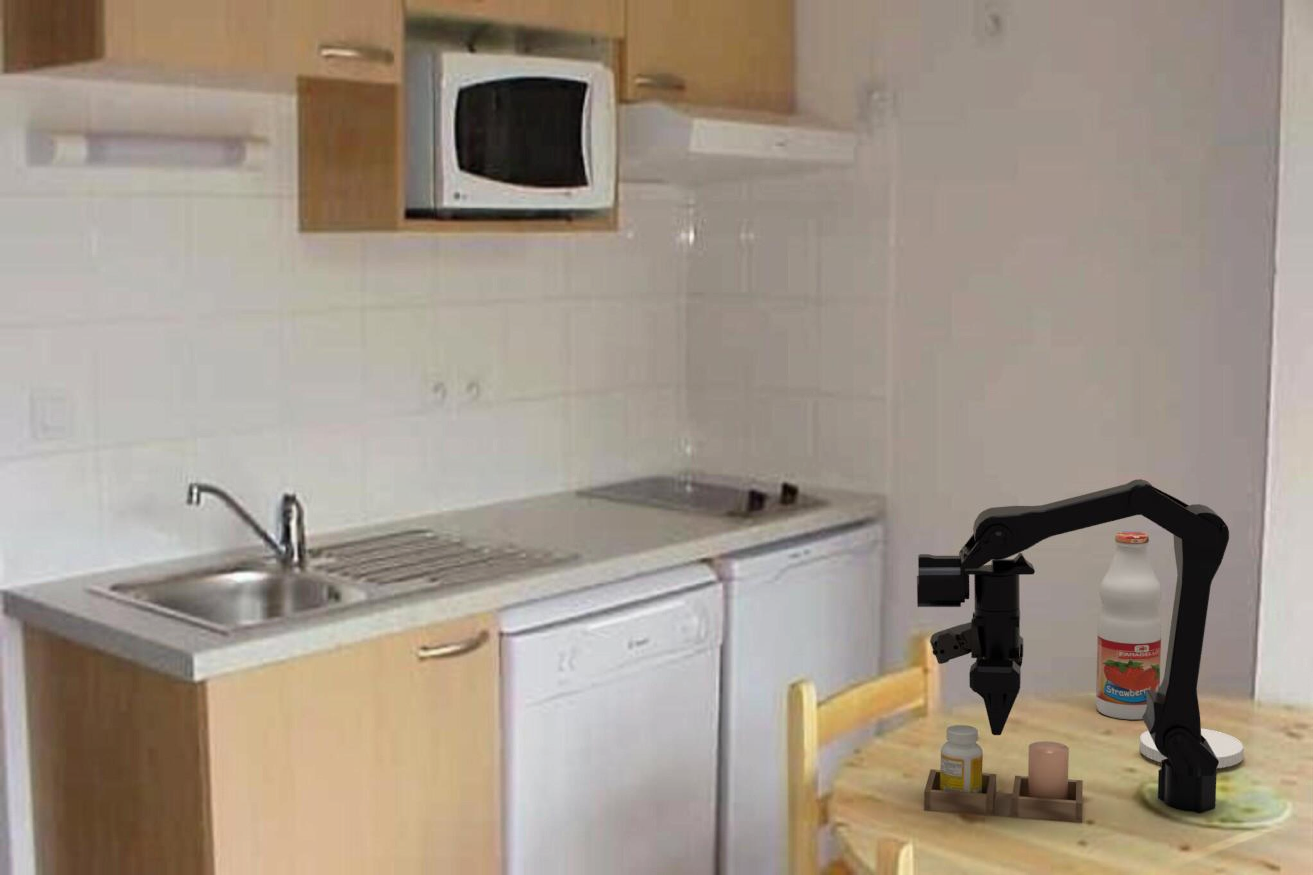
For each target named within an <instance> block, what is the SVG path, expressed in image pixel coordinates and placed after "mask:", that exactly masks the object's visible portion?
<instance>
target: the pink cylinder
mask: <svg viewBox="0 0 1313 875" xmlns="http://www.w3.org/2000/svg"><path fill="white" fill-rule="evenodd" d="M1069 758H1070V749H1069V746H1067V745H1066V744H1064V743H1060V742H1055V741H1046V740H1045V741H1044V740H1043V741H1035V742H1033V743H1030V744H1029V745H1028V762H1027V763H1028V766H1027V767H1028V768H1027V772H1028V773H1027V776H1028V797H1033V798H1046V799H1059V800H1068V779H1069V769H1070V768H1069V766H1070V764H1069V761H1070V760H1069Z"/></svg>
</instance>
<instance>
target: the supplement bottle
mask: <svg viewBox="0 0 1313 875" xmlns="http://www.w3.org/2000/svg"><path fill="white" fill-rule="evenodd" d="M945 736H946V738H945V739H946V740H947V742H945V743H943V744H942V746H941V748H940V770H941V774H940V790H941V791H955V792H968V793H981V794H982V773H983V761H984V760H983V757H984V756H983V754H984V753H983V748H982V747H981V746H980V744H978V740H979V731H978V729H977V728H976V727H974V726H971V725H965V724H954V725H950V726H948V727H947V728H946V735H945Z"/></svg>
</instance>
